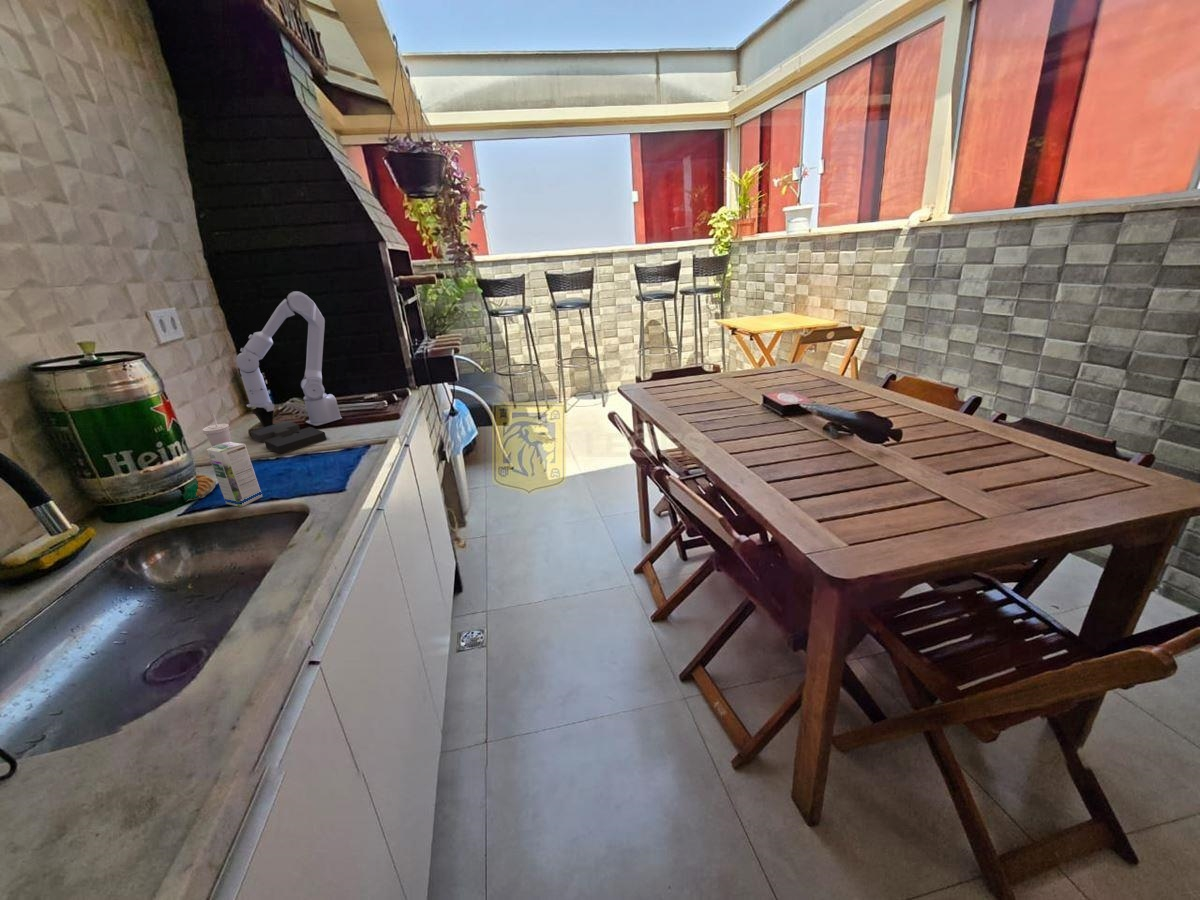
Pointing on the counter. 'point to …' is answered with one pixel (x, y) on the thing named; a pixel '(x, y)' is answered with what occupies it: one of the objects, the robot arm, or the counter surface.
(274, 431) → the loose pad
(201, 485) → the pastry
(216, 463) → the syrup box
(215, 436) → the smoothie
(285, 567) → the counter surface
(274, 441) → the base pad
